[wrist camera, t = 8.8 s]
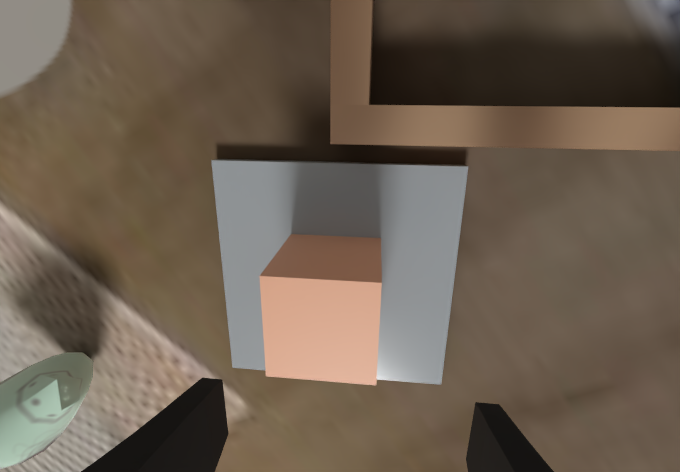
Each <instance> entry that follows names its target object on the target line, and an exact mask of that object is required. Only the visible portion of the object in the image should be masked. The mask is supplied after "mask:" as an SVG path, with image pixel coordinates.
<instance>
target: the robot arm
mask: <svg viewBox="0 0 680 472" xmlns="http://www.w3.org/2000/svg"><path fill="white" fill-rule="evenodd" d="M227 436H228V427H227V418H226V409H225V400H224V391H223V382H222V380H221V379H210V378H202V379H200V380H199V381H198V382H196V383H195V384H194V385H193V386H192V387H190V388H189V389H188V390H187V391H185V392H184V393H183V394H182V395H181V396H179V397H178V398H177V399H176V400H174V401H173V402H172V403H171V404H170V405H168V406H167V407H166V408H165V409H163V410H162V411H161V412H160V413H158V414H157V415H156V416H155V417H153V418H152V419H151V420H150V421H148V422H147V423H146V424H145V425H143V426H142V427H141V428H140V429H138V430H137V431H136V432H135V433H133V434H132V435H131V436H129V437H128V438H127V439H125V440H124V441H123V442H121V443H120V444H118V445H117V446H116V447H114V448H113V449H112V450H110V451H109V452H108V453H106V454H105V455H104V456H102V457H101V458H100V459H98V460H97V461H96V462H94V463H93V464H91V465H90V466H88V467H87V468H86V469H84V470H83V471H81V472H215V469H216V466H217V464H218V461H219V458H220V456H221V453H222V450H223V447H224V445H225V442H226V439H227ZM466 461H467V467H468V472H554V471H553V470H552V469H551V468H550V467H549V466H548V464H547V463H546V462H545V461H544V460H543V458H542V457H541V456H540V455H539V454H538V452H537V451H536V450H535V449H534V447H533V446H532V445H531V444H530V443H529V441H528V440H527V439H526V438H525V436H524V435H523V434H522V433H521V431H520V430H519V429H518V428H517V426H516V425H515V424H514V422H513V421H512V420H511V419H510V417H509V416H508V415H507V414H506V412H505V411H504V410H503V409H502V407H501V406H500V405H499V404H488V403H477V402H476V403H475V409H474V415H473V421H472V427H471V433H470V439H469V445H468V451H467V456H466Z"/></svg>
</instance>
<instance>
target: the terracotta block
mask: <svg viewBox="0 0 680 472" xmlns="http://www.w3.org/2000/svg"><path fill="white" fill-rule="evenodd" d="M259 277H260V292H261V308H262V323H263V338H264V353H265V368H266V376H271V377H283V378H295V379H307V380H319V381H331V382H342V383H354V384H366V385H376V380H377V362H378V343H379V325H380V307H381V289H382V265H381V238H367V237H345V236H323V235H300V234H291V235H290V236H289V237H288V239H287V240H286V241H285V243H284V244H283V245H282V247H281V248H280V249H279V251H278V252H277V253H276V255H275V256H274V257H273V259H272V260H271V261H270V263H269V264H268V265H267V267H266V268H265V269H264V271H263V272H262V273H261V275H260V276H259Z"/></svg>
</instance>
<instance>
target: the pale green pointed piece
mask: <svg viewBox="0 0 680 472" xmlns="http://www.w3.org/2000/svg"><path fill="white" fill-rule="evenodd" d="M92 377H93V361H92V360H91V359H90V358H89V357H88V356H87V355H85V354H84V353H83V352H73V353H63V354H59V355H56V356H52V357H50V358H47V359H45V360H43V361H40V362H38V363H35V364H33V365H31V366H29V367H27V368H25V369H24V370H22V371H20V372H18V373H17V374H15V375H13V376H11V377H9V378H7V379H6V380H4V381H2V382H0V469H2V468H6V467H10V466H14V465H17V464H21V463H23V462H25V461H26V460H28V459H30V458H32V457H34V456H36V455H38V454H39V453H41V452H43V451H45V450H46V449H47V448H48V447H49V446H50V445H51V444H52V443H53V442H54V441H55V440H56V439H57V438H58V437H59V436H60V435H61V434H62V433H63V431H64V430H65V429H66V427H67V426H68V424H69V423H70V422H71V420H72V419H73V418H74V416H75V414H76V413H77V411H78V409H79V407H80V405H81V403H82V401H83V400H84V398H85V396H86V394H87V392H88V390H89V387H90V384H91V380H92Z"/></svg>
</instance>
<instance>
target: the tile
mask: <svg viewBox="0 0 680 472" xmlns="http://www.w3.org/2000/svg"><path fill="white" fill-rule="evenodd" d="M212 170H213V180H214V190H215V199H216V209H217V219H218V229H219V239H220V248H221V258H222V268H223V278H224V288H225V297H226V307H227V317H228V327H229V337H230V346H231V356H232V366H233V368H244V369H256V370H266V368H265V353H264V338H263V323H262V308H261V292H260V277H259V276H260V275H261V273H262V272H263V271H264V269H265V268H266V267H267V265H268V264H269V263H270V261H271V260H272V259H273V257H274V256H275V255H276V253H277V252H278V251H279V249H280V248H281V247H282V245H283V244H284V243H285V241H286V240H287V239H288V237H289V236H290V235H291V234H300V235H323V236H345V237H367V238H381V265H382V289H381V307H380V325H379V343H378V362H377V379H379V380H392V381H404V382H416V383H428V384H441V381H442V373H443V365H444V357H445V349H446V341H447V333H448V325H449V317H450V309H451V301H452V293H453V285H454V277H455V269H456V261H457V253H458V245H459V237H460V229H461V221H462V213H463V205H464V197H465V189H466V181H467V173H468V166H466V165H450V164H408V163H366V162H325V161H283V160H241V159H215V160H212Z"/></svg>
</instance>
